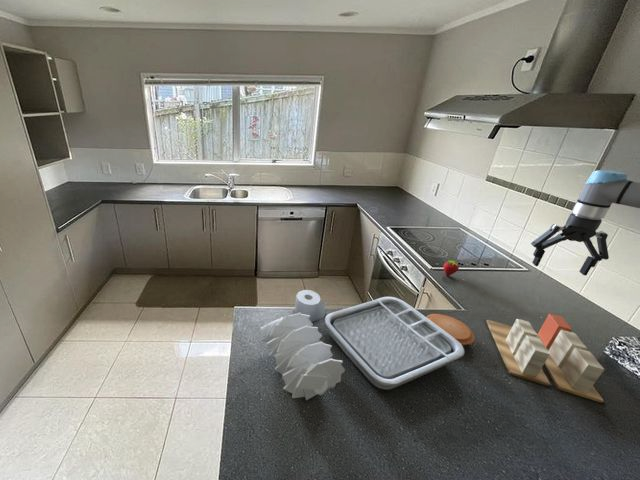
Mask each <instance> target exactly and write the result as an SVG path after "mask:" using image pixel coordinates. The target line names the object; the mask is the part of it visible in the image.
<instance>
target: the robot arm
mask: <svg viewBox="0 0 640 480" xmlns="http://www.w3.org/2000/svg"><path fill="white" fill-rule="evenodd" d="M612 204H615V205H622V206H626V207H630V208H637V209H640V182H639V181H633V180H628V174H627V173H625V172H620V171H615V170H605V169H598V170H594V171H592V172H591V174H590V176H589V178H588V179H587V181H586V182H585V184H584V186H583V188H582V190H581V192H580V194H579V197H578V198H577V200H576V202H575V204H574V206H573V208H572V210H571V212H572V213H570V214H569V216H568V218H567V220H566V222H565V224H564V225H563V226H560V225H557V224H556V223H555V224H554V223H553V224H552V225H551V226H550V227H549V229H547V230H546V231H545V232H544V233H542V234H541V235H540V236H538V237H537V238H536V239H534V240H533V241H532V242H531V243H530V244H531V246H532V247H534V249H535V250H534V252H533V254H532V255H533V256H534V257H533V260H532V262H531V263H532V264H533V265H534V266H535V267H539V264H540V263H541V261H542V259H543V257H544V255H545V253H546V249H548V248H550V247H552V246H554V245H556V244H558V243H561V242H564V241H567V240H568V241H570V242H577V243H582V242H583V244H584V246H585V247H586V249H587V251H588V252H589V254H590V255H587V257H586V259H585V260H584V262H583V264H582V266H581V268H580V269H579V273H580V274H581V275H582V276H587V275H588V273H589V272H590V270H591V269H592V268H595V267H596V266H597V264H598V262H602V261H603V260H609V259H610V256H609V249H608V245H607V238H608V236H609V235H608V233H606V232H605V231H603V230H599V231H597V230H598V229H599V228H600V226H601V224H602V222H603V220H602V219H605V217H606V216H607V214H608V212H609V209H610V208H611V206H612ZM594 237H595V238H596V242H597V244H596V245H597V248H598V251H597V248H595V246H594V244H593V242H592V240H591V238H594Z"/></svg>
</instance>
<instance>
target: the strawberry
mask: <svg viewBox="0 0 640 480" xmlns="http://www.w3.org/2000/svg"><path fill="white" fill-rule="evenodd" d="M458 270H459V265H458V263H457V262H456V260H455V259H454V260H450V259H448V260H446V262H444V263H443V271H444V273H445V275H446V276H447V277H450V276H452V275H453V274H455V273H457V271H458Z"/></svg>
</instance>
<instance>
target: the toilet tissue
mask: <svg viewBox="0 0 640 480" xmlns="http://www.w3.org/2000/svg"><path fill="white" fill-rule="evenodd" d="M321 300H322V298H321V297H320V294H319V293H317V292H316V291H314V290H310V289H303V290H299V291H298V292H297V293H296V295H295V304H294V306H295V307H294V313H293V314H296V313H299V312H300V313H301V314H305V315H310V317H309V320H310V321H311V322H312V323H313V322H316V321H319V320H322V319H323V318H324V317H326V300H322V301H321Z"/></svg>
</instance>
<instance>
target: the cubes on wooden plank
mask: <svg viewBox="0 0 640 480" xmlns="http://www.w3.org/2000/svg"><path fill="white" fill-rule="evenodd" d="M536 333H537V334H538V333H539V332H536ZM536 338H539V336H538V335H537V337H536ZM540 340H541V339H540ZM542 343H543V342H542ZM546 349H547V351H548V352H549V354H550V355H549V357H548V358H547V360H546V362H545V363H544V365H543V367H544V368H545V369H546V372H547V373H548V375H549V377H550V378H551V380H552V382H553V383H554V385H555V387H556V388H557V390H560V391H562V392H565V393H569V394H572V395H575V396H578V397H582V398H585V399H587V400H592V401H593V402H594V401H595V402H597V403H602V404H603V403H604V401H605V400H604V399H603V397H602V396H601V395H600V393H599V392H598V390H597V389H596V388H595V386H594V385H595V384H596V382H597V381H598V379H599V378H600V376H601V375H602V374H603V373H604V371H605V368H604V367H603V366H602V365H601V363H600V362H599V361H598V359H597V358H596V357H595V356H594V355H593V353H592V352H591V351H589V350H587V349H588V347H587V346H586V345H585V344H584V342H582V340H581V339H580V337H579V336H578V335H577V333H576V332H572V331H571V332H568V331H564V330H561V331H560V332H559V334H558V336H557V337H556V339H555V341H554V342H553V344H552V346H551V347H550V349H549V348H546Z"/></svg>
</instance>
